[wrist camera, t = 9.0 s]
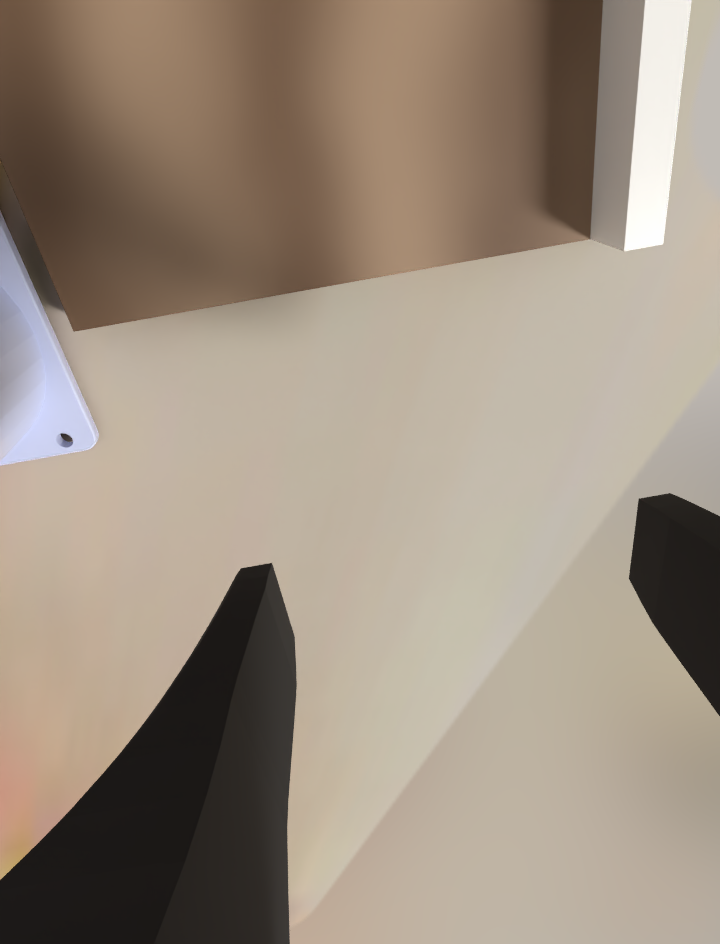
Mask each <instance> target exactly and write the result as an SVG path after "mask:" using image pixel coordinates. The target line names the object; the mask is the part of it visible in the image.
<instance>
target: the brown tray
mask: <svg viewBox="0 0 720 944" xmlns="http://www.w3.org/2000/svg"><path fill="white" fill-rule="evenodd" d="M691 1H692V0H0V159H1V162H2V164H3V166H4V169H5V171H6V173H7V176H8V178H9V180H10V183H11V185H12V187H13V190H14V192H15V195H16V197H17V199H18V202H19V204H20V206H21V209H22V211H23V213H24V216H25V218H26V220H27V223H28V225H29V227H30V230H31V232H32V234H33V237H34V239H35V242H36V244H37V246H38V249H39V251H40V253H41V256H42V258H43V260H44V263H45V265H46V267H47V270H48V272H49V274H50V277H51V279H52V282H53V284H54V286H55V289H56V291H57V293H58V296H59V298H60V300H61V303H62V305H63V307H64V310H65V312H66V314H67V317H68V319H69V321H70V324H71V326H72V329H73V331H80V330H85V329H91V328H97V327H102V326H108V325H113V324H119V323H125V322H130V321H136V320H141V319H147V318H152V317H158V316H164V315H169V314H175V313H180V312H186V311H192V310H197V309H203V308H208V307H214V306H219V305H225V304H231V303H236V302H242V301H247V300H253V299H259V298H264V297H270V296H275V295H281V294H287V293H292V292H298V291H303V290H309V289H314V288H320V287H326V286H331V285H337V284H342V283H348V282H354V281H359V280H365V279H370V278H376V277H382V276H387V275H393V274H398V273H404V272H409V271H415V270H421V269H426V268H432V267H437V266H443V265H449V264H454V263H460V262H465V261H471V260H476V259H482V258H488V257H493V256H499V255H504V254H510V253H516V252H521V251H527V250H532V249H538V248H544V247H549V246H555V245H560V244H566V243H571V242H577V241H583V240H588V239H591V240H594V241H597V242H600V243H602V244H605V245H608V246H611V247H614V248H617V249H619V250H622V251H628V250H634V249H639V248H645V247H651V246H656V245H662V244H663V240H664V232H665V223H666V215H667V206H668V198H669V189H670V180H671V172H672V163H673V155H674V146H675V138H676V129H677V121H678V112H679V104H680V95H681V86H682V78H683V69H684V61H685V52H686V44H687V35H688V27H689V18H690V9H691Z"/></svg>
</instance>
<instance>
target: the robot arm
mask: <svg viewBox="0 0 720 944" xmlns="http://www.w3.org/2000/svg"><path fill="white" fill-rule="evenodd" d="M61 433H65V434H68V435H70V436H71V438H72V439H73V442H67V441H65V440H64V439H63V438H62V437H61ZM98 437H99V434H98V430H97V427H96V425H95V423H94V421H93V418H92V416H91V414H90V412H89V409H88V407H87V405H86V403H85V400H84V398H83V396H82V394H81V391H80V389H79V387H78V385H77V382H76V380H75V378H74V376H73V373H72V371H71V369H70V367H69V364H68V362H67V360H66V358H65V355H64V353H63V351H62V349H61V346H60V344H59V342H58V340H57V337H56V335H55V333H54V331H53V328H52V326H51V324H50V322H49V319H48V317H47V315H46V313H45V310H44V308H43V306H42V304H41V301H40V299H39V297H38V295H37V292H36V290H35V288H34V286H33V283H32V281H31V279H30V277H29V274H28V272H27V270H26V268H25V265H24V263H23V261H22V259H21V256H20V254H19V252H18V250H17V247H16V245H15V243H14V241H13V238H12V236H11V234H10V232H9V229H8V227H7V225H6V223H5V220H4V218H3V216H2V214H1V211H0V465H6V464H12V463H17V462H23V461H29V460H34V459H40V458H46V457H51V456H57V455H62V454H68V453H74V452H79V451H85V450H88V449H91V448H92V447H93V446H94V445H95V444H96V442H97V441H98ZM629 579H630V581H631V583H632V585H633V587H634V589H635V591H636V593H637V595H638V597H639V599H640V601H641V603H642V604H643V606H644V608H645V610H646V612H647V613H648V615H649V617H650V619H651V621H652V622H653V624H654V625H655V627H656V628H657V630H658V631H659V633H660V634H661V636H662V637H663V638H664V640H665V641H666V643H667V644H668V645H669V647H670V648H671V650H672V651H673V652H674V654H675V655H676V657H677V658H678V659H679V661H680V662H681V664H682V665H683V666H684V668H685V669H686V670H687V672H688V673H689V675H690V676H691V677H692V679H693V680H694V681H695V683H696V684H697V685H698V687H699V688H700V690H701V691H702V692H703V694H704V695H705V696H706V698H707V699H708V700H709V702H710V703H711V705H712V706H713V707H714V709H715V710H716V712H717V713H718V714H719V716H720V516H718V515H716V514H714V513H712V512H710V511H708V510H706V509H704V508H701V507H699V506H697V505H695V504H693V503H691V502H689V501H687V500H685V499H682V498H680V497H678V496H675V495H673V494H670V493H669V494H664V495H658V496H652V497H647V498H641V499H639V502H638V510H637V518H636V526H635V534H634V542H633V550H632V558H631V566H630V575H629ZM296 686H297V684H296V658H295V637H294V634H293V630H292V627H291V624H290V620H289V617H288V614H287V611H286V607H285V604H284V601H283V598H282V594H281V591H280V588H279V585H278V581H277V578H276V575H275V571H274V568H273V565H272V563H270V564H264V565H258V566H252V567H247V568H241V569H240V571H239V572H238V573H237V575H236V577H235V579H234V581H233V582H232V584H231V586H230V588H229V590H228V592H227V594H226V595H225V597H224V599H223V601H222V603H221V605H220V606H219V608H218V610H217V612H216V614H215V615H214V617H213V619H212V621H211V622H210V624H209V626H208V627H207V629H206V631H205V632H204V634H203V636H202V637H201V639H200V641H199V642H198V644H197V646H196V647H195V649H194V651H193V652H192V654H191V656H190V657H189V659H188V660H187V662H186V663H185V665H184V666H183V668H182V669H181V671H180V672H179V674H178V675H177V677H176V678H175V680H174V681H173V683H172V684H171V686H170V687H169V689H168V690H167V692H166V693H165V695H164V696H163V698H162V699H161V701H160V702H159V703H158V705H157V706H156V707H155V709H154V710H153V712H152V713H151V714H150V716H149V717H148V718H147V720H146V721H145V722H144V724H143V725H142V726H141V728H140V729H139V730H138V732H137V733H136V734H135V735H134V737H133V738H132V739H131V740H130V742H129V743H128V744H127V745H126V747H125V748H124V749H123V750H122V752H121V753H120V754H119V755H118V757H117V758H116V759H115V760H114V761H113V762H112V764H111V765H110V766H109V767H108V768H107V769H106V771H105V772H104V773H103V774H102V775H101V776H100V778H99V779H98V780H97V781H96V782H95V783H94V784H93V785H92V786H91V788H90V789H89V790H88V791H87V792H86V793H85V794H84V795H83V797H82V798H81V799H80V800H79V801H78V802H77V803H76V804H75V806H74V807H73V808H72V809H71V810H70V811H69V812H68V813H67V814H66V815H65V816H64V817H63V818H62V819H61V820H60V821H59V823H58V824H57V825H56V826H55V827H54V828H53V829H52V830H51V831H50V832H49V833H48V834H47V835H46V836H45V837H44V838H43V839H42V840H41V841H40V842H39V843H38V844H37V845H36V846H35V847H34V848H33V849H32V850H31V851H30V852H29V853H28V854H27V855H26V856H25V857H24V858H23V859H22V860H21V861H20V862H19V863H17V864H16V865H15V866H14V867H13V868H12V869H11V870H10V871H9V872H8V873H7V874H6V875H5V876H4V877H3V878H2V879H1V880H0V944H290V942H289V904H288V853H287V818H288V796H289V783H290V769H291V756H292V743H293V730H294V716H295V702H296Z"/></svg>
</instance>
